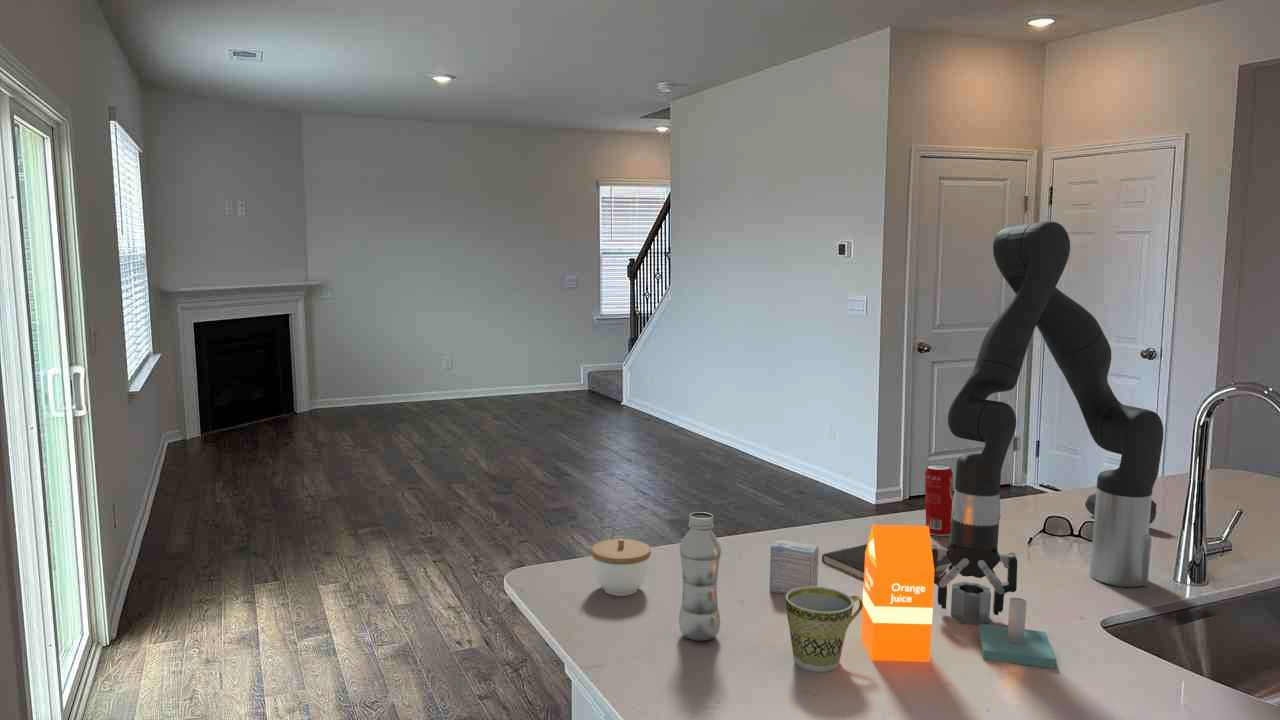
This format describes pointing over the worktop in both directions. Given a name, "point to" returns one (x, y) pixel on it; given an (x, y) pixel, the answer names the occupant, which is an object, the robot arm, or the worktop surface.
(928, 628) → the orange juice
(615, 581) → the lidded jar
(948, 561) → the hardcover book
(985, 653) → the shaft stand
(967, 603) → the tube
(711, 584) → the plastic bottle
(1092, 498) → the perforated stone tool
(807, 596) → the ceramic cup
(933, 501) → the beverage can
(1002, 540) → the worktop surface
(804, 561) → the medicine box
